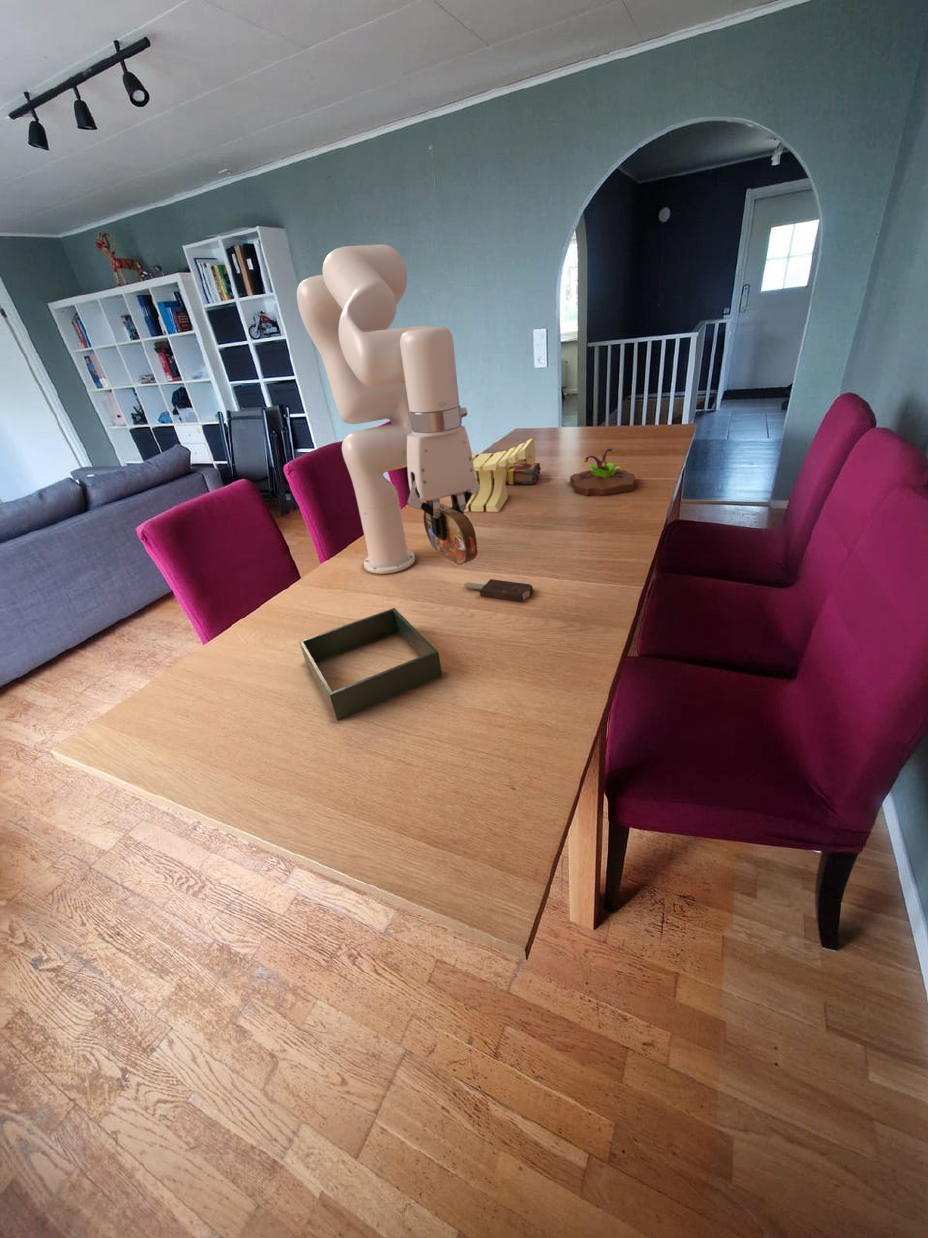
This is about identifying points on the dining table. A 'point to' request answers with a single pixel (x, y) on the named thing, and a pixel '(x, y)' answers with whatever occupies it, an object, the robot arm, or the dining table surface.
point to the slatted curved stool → (496, 476)
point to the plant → (603, 478)
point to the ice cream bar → (503, 590)
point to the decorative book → (523, 473)
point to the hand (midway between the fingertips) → (449, 534)
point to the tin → (454, 536)
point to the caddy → (381, 683)
